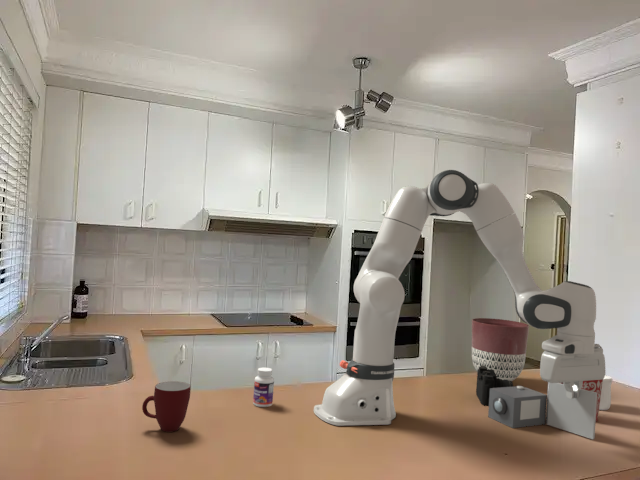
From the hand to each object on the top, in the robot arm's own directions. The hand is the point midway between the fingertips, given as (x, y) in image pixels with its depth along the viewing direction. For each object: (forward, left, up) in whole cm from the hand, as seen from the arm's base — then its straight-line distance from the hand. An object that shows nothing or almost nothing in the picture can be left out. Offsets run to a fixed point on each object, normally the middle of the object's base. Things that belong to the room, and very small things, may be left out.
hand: (572, 397), depth 132 cm
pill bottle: (-70, +42, -10) cm, 82 cm away
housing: (-6, +12, -10) cm, 17 cm away
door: (+2, +2, -9) cm, 10 cm away
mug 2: (+17, +11, -10) cm, 23 cm away
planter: (+20, +47, -10) cm, 52 cm away
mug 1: (-98, +30, -10) cm, 103 cm away
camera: (+2, +29, -10) cm, 31 cm away
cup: (+31, +17, -10) cm, 37 cm away
